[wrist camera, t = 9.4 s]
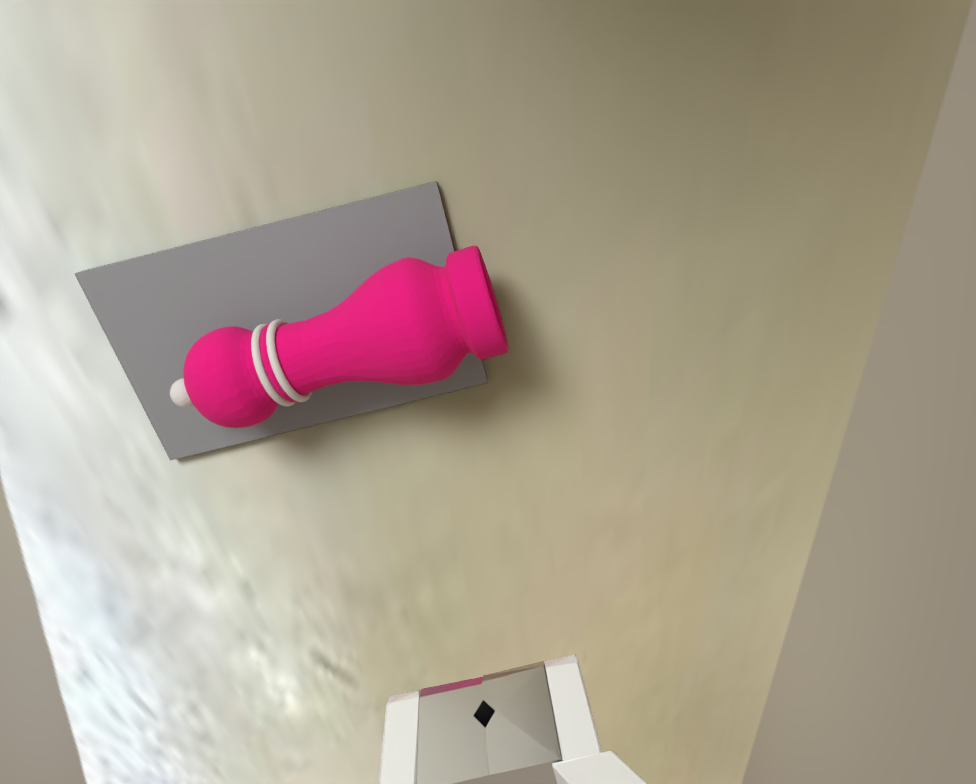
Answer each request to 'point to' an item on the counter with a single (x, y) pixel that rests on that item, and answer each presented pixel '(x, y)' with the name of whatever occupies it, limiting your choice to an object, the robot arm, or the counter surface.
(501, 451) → the counter surface
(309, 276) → the mat
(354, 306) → the pepper mill
